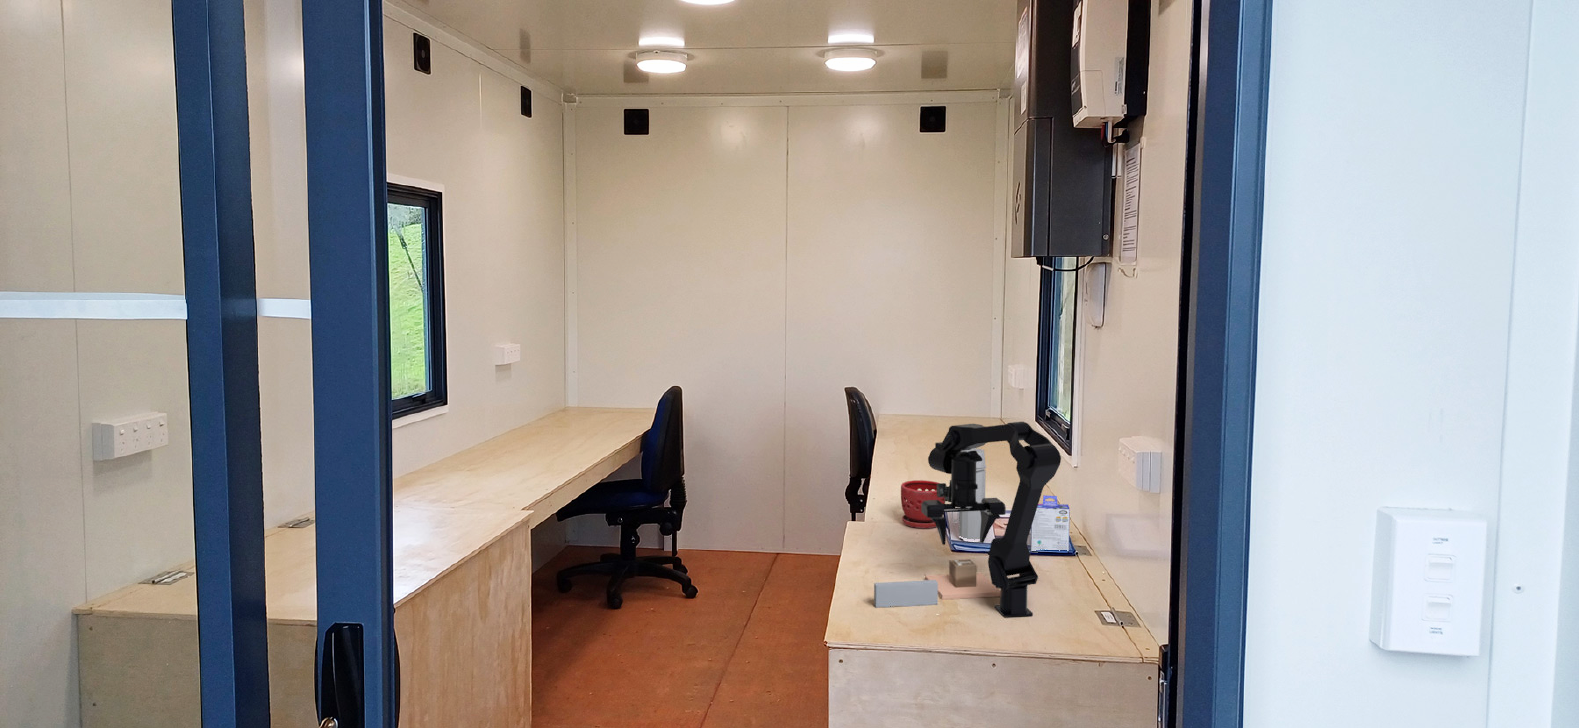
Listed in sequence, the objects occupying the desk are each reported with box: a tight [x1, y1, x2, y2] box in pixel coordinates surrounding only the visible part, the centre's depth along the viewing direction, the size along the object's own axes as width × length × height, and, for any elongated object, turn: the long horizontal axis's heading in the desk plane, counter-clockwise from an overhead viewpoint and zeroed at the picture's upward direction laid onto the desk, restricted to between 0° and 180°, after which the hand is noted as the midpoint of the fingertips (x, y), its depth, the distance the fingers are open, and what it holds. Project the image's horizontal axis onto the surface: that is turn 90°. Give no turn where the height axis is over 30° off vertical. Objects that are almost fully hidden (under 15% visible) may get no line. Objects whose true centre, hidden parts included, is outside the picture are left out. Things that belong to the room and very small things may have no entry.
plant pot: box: [900, 479, 946, 529], centre depth 280 cm, size 13×13×12 cm
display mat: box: [924, 572, 1000, 600], centre depth 225 cm, size 14×14×1 cm
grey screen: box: [873, 579, 939, 609], centre depth 214 cm, size 2×14×5 cm, turn 98°
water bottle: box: [951, 448, 987, 540], centre depth 264 cm, size 9×8×25 cm
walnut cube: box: [948, 558, 978, 588], centre depth 225 cm, size 5×5×5 cm
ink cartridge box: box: [1030, 495, 1071, 552], centre depth 254 cm, size 10×6×14 cm, turn 78°
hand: (962, 543), depth 224 cm, fingers open, 9 cm apart
